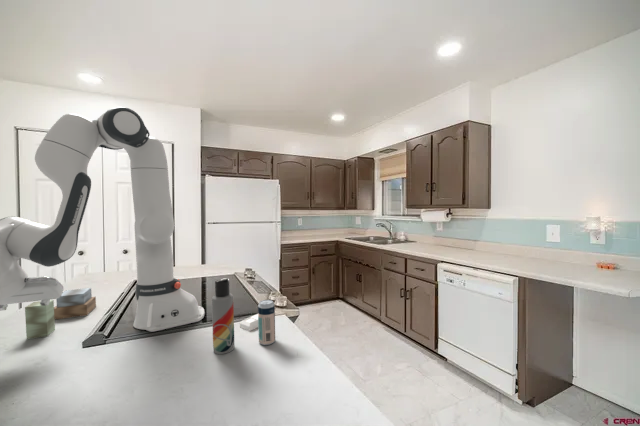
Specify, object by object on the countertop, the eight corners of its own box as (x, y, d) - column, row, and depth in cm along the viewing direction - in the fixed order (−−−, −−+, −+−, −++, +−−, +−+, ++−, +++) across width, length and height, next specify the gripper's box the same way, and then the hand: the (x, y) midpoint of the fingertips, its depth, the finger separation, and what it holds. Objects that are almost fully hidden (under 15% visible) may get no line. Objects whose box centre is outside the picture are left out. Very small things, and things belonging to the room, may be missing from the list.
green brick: (55, 329, 95) (53, 299, 94) (47, 336, 90) (45, 304, 90) (35, 332, 93) (33, 302, 92) (26, 339, 88) (24, 307, 88)
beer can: (278, 340, 85) (277, 300, 85) (269, 347, 81) (268, 305, 81) (265, 337, 87) (264, 298, 87) (255, 344, 83) (254, 303, 83)
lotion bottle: (222, 356, 77) (220, 282, 76) (208, 351, 80) (206, 280, 79) (238, 347, 81) (237, 277, 81) (225, 342, 84) (223, 275, 84)
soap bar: (270, 322, 99) (269, 314, 99) (249, 332, 92) (249, 324, 92) (260, 319, 102) (260, 311, 102) (239, 328, 95) (239, 320, 95)
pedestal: (96, 306, 116) (95, 286, 115) (87, 315, 106) (86, 294, 106) (64, 310, 112) (63, 290, 111) (52, 319, 103) (51, 297, 102)
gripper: (57, 266, 80) (72, 291, 90) (-47, 274, 72) (-18, 300, 82) (50, 286, 76) (67, 310, 86) (-60, 297, 68) (-28, 322, 78)
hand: (25, 305), depth 84 cm, fingers open, 8 cm apart
